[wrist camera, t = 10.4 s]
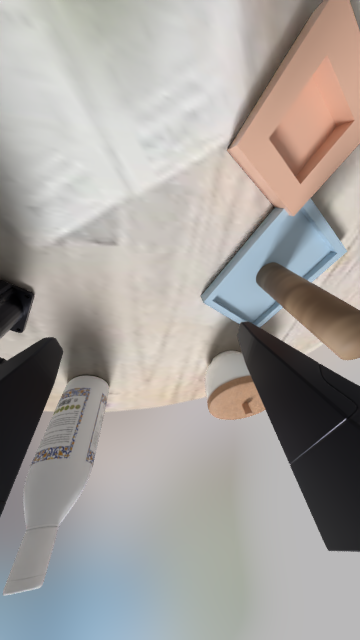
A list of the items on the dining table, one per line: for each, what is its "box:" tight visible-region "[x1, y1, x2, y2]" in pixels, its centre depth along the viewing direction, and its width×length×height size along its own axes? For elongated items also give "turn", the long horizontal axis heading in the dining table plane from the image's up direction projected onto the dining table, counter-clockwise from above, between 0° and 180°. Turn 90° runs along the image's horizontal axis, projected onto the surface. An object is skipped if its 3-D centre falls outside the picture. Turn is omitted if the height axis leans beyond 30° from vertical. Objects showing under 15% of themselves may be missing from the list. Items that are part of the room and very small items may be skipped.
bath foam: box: [3, 376, 109, 595], centre depth 23 cm, size 7×7×20 cm
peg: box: [256, 262, 360, 360], centre depth 16 cm, size 3×3×12 cm
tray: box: [201, 198, 347, 328], centre depth 21 cm, size 14×10×2 cm
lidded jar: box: [205, 350, 266, 420], centre depth 28 cm, size 11×11×9 cm
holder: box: [227, 0, 360, 216], centre depth 14 cm, size 8×8×2 cm
